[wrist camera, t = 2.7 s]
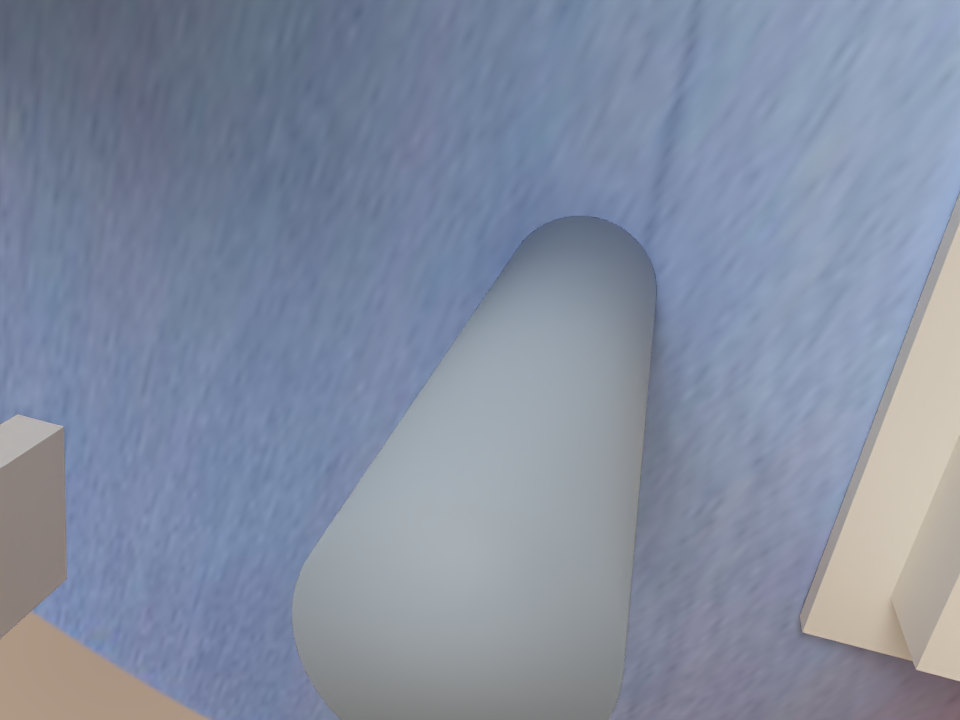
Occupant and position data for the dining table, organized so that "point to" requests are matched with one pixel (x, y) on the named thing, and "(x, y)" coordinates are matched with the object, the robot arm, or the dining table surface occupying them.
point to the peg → (499, 506)
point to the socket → (905, 499)
